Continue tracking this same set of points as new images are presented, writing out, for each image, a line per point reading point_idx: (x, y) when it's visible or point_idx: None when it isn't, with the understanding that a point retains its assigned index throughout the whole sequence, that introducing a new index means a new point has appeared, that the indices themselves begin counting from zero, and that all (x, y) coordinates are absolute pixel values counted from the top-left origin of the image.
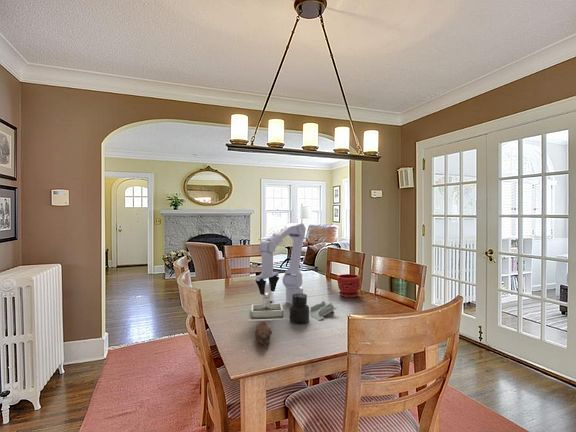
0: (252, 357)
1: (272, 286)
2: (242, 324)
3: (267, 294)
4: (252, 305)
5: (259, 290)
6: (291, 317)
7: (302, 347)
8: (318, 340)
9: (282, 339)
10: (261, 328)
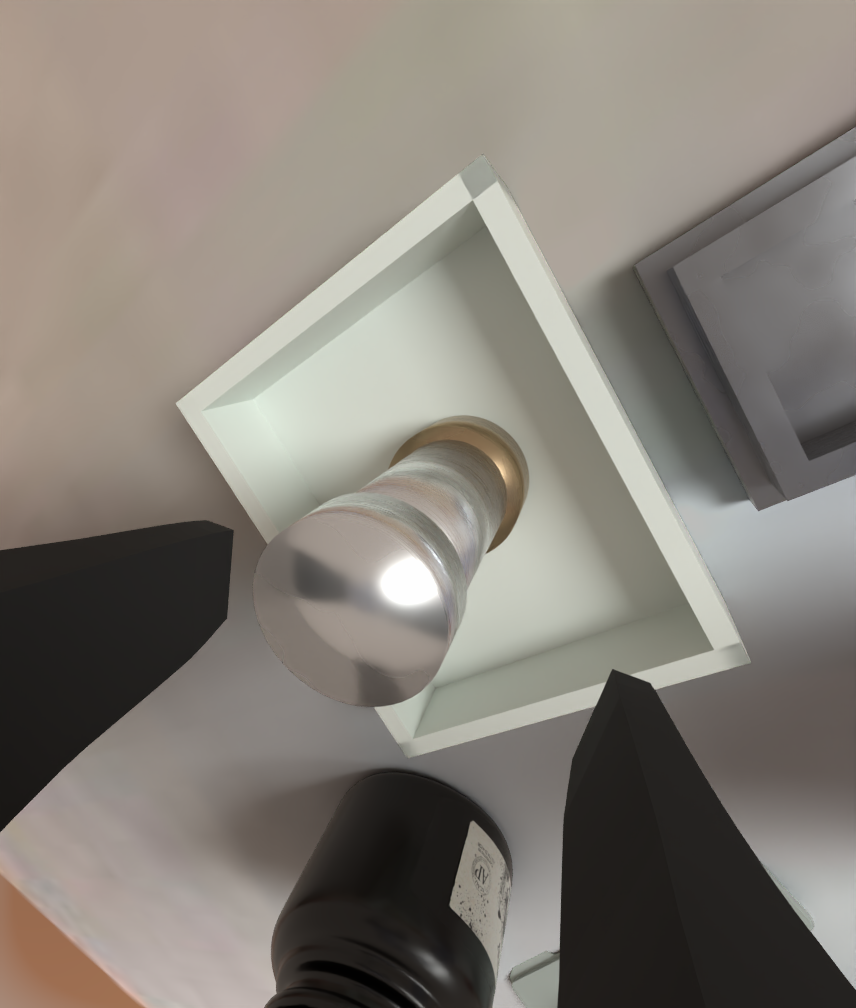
0: None
1: (597, 850)
2: (92, 385)
3: (302, 666)
4: (416, 226)
5: (113, 537)
6: (326, 829)
7: (82, 872)
8: (190, 942)
9: (87, 771)
10: None
